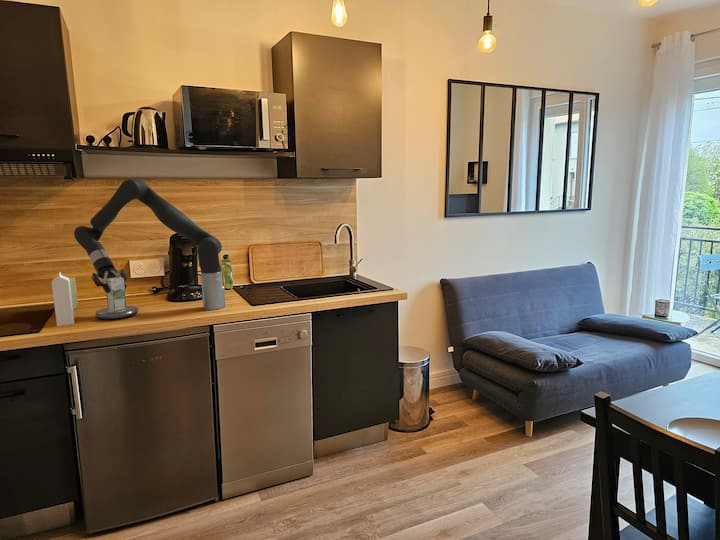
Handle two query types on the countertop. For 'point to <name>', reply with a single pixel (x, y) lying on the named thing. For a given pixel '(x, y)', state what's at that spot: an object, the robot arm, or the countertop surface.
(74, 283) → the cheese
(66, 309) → the milk
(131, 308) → the disc
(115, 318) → the turntable base
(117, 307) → the syrup box
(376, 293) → the countertop surface
